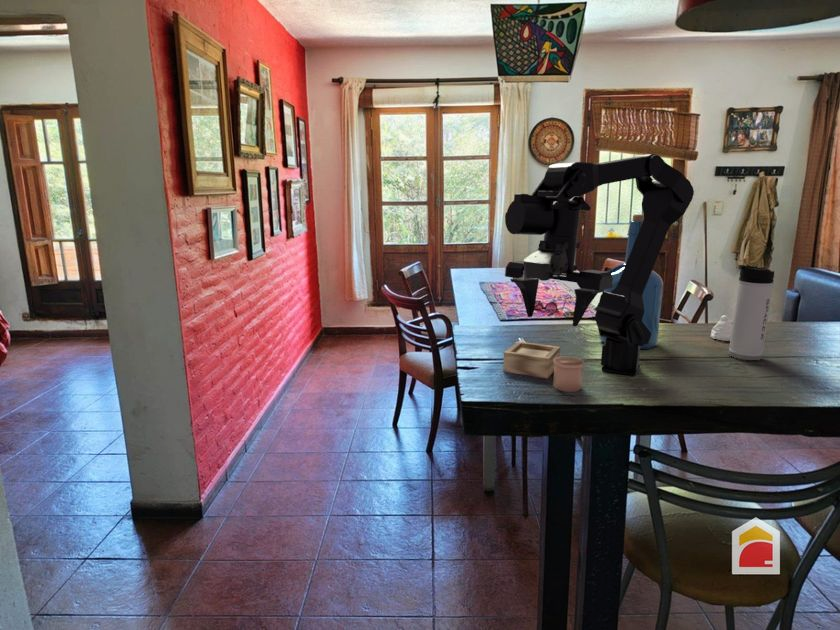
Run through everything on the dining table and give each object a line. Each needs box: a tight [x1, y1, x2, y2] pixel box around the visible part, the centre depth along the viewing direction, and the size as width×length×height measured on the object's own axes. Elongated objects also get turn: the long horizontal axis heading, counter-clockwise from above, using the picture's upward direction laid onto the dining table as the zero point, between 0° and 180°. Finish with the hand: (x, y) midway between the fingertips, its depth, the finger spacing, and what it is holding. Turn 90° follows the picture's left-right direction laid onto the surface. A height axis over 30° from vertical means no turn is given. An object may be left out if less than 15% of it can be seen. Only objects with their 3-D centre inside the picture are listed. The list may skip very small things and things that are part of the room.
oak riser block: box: [502, 340, 561, 380], centre depth 109 cm, size 9×9×4 cm
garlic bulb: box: [710, 314, 733, 341], centre depth 130 cm, size 6×6×5 cm
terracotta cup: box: [552, 356, 585, 393], centre depth 98 cm, size 5×5×5 cm
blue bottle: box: [598, 214, 664, 350], centre depth 124 cm, size 14×13×30 cm
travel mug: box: [728, 264, 775, 361], centre depth 114 cm, size 6×7×20 cm
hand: (551, 321), depth 98 cm, fingers open, 9 cm apart
